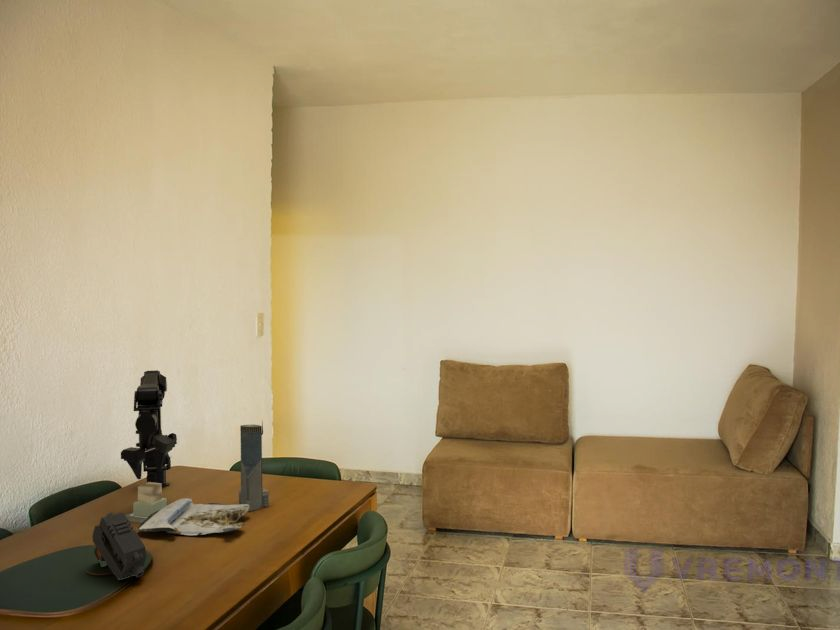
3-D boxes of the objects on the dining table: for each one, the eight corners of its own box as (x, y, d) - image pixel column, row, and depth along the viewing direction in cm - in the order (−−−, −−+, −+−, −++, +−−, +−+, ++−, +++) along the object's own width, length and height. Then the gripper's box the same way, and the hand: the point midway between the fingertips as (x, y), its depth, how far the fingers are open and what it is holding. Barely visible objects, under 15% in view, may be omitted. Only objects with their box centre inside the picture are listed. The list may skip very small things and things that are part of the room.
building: (271, 503, 231) (270, 414, 230) (262, 512, 222) (262, 419, 220) (241, 502, 232) (240, 413, 231) (231, 511, 223) (230, 418, 222)
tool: (108, 546, 186) (121, 504, 181) (141, 599, 176) (156, 556, 170) (85, 553, 181) (98, 510, 176) (118, 608, 171) (132, 564, 166)
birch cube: (148, 497, 223) (148, 481, 223) (161, 498, 222) (161, 483, 222) (138, 502, 219) (137, 486, 218) (151, 503, 217) (150, 487, 217)
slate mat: (152, 504, 230) (151, 502, 230) (182, 508, 226) (182, 506, 226) (116, 520, 215) (116, 518, 215) (148, 524, 211) (148, 523, 211)
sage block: (148, 508, 225) (148, 496, 225) (166, 510, 223) (166, 498, 222) (133, 515, 218) (133, 502, 218) (151, 517, 216) (151, 504, 216)
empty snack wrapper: (236, 545, 198) (236, 527, 197) (132, 542, 198) (131, 525, 197) (257, 512, 222) (257, 497, 221) (163, 510, 222) (163, 495, 221)
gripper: (149, 434, 208) (150, 486, 209) (188, 422, 226) (189, 469, 227) (118, 432, 212) (119, 482, 213) (160, 420, 229) (160, 466, 230)
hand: (149, 475), depth 220 cm, fingers open, 9 cm apart
